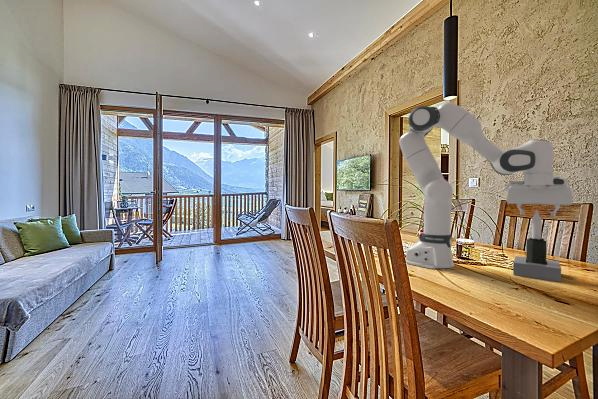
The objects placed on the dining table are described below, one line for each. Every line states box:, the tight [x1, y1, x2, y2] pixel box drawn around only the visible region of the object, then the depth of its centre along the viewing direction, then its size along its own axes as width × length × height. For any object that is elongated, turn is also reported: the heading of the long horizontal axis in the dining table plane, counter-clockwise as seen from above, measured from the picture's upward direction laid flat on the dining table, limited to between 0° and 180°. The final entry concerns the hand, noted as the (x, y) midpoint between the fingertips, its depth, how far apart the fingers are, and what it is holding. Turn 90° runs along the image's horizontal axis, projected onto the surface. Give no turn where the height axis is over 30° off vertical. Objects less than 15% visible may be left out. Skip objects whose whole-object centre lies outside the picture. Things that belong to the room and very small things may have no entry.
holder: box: [512, 255, 562, 283], centre depth 114 cm, size 14×14×5 cm
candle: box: [525, 209, 547, 265], centre depth 114 cm, size 5×5×25 cm
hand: (537, 215), depth 113 cm, fingers open, 8 cm apart
